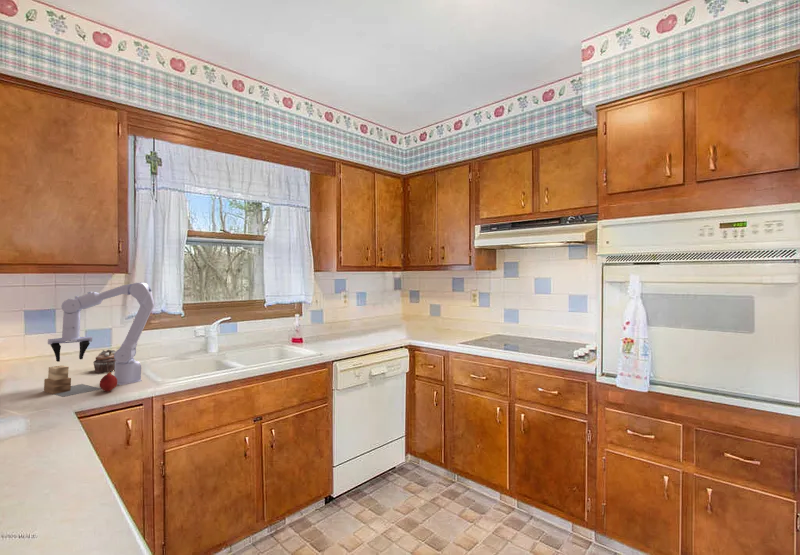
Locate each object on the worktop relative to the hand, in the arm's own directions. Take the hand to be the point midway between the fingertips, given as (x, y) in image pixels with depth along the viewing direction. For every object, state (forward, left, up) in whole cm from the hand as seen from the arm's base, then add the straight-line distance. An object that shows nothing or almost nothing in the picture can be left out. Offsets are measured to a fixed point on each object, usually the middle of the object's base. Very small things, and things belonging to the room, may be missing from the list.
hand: (69, 360), depth 173 cm
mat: (+4, +11, -10) cm, 16 cm away
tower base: (+8, +8, -10) cm, 15 cm away
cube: (+8, +8, -5) cm, 12 cm away
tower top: (+8, +8, -8) cm, 14 cm away
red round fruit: (-2, +23, -11) cm, 25 cm away
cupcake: (-23, -14, -11) cm, 29 cm away
